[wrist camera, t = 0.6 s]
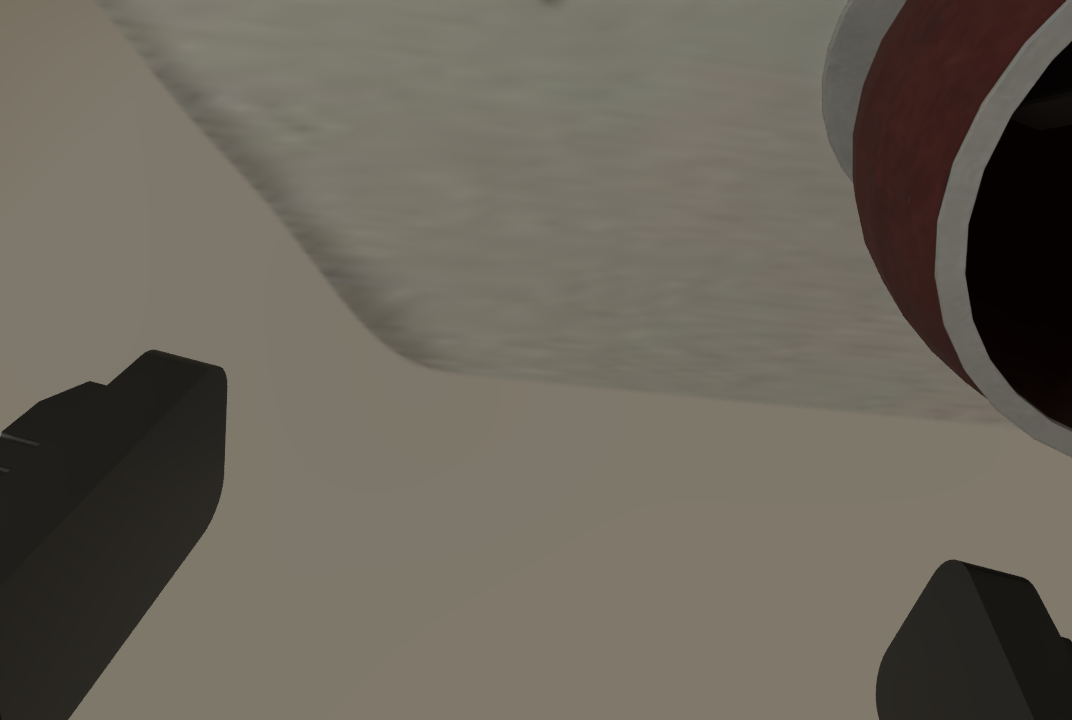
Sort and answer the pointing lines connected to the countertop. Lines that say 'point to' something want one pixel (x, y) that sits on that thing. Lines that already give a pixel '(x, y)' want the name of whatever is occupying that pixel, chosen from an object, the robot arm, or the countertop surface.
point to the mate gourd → (967, 185)
